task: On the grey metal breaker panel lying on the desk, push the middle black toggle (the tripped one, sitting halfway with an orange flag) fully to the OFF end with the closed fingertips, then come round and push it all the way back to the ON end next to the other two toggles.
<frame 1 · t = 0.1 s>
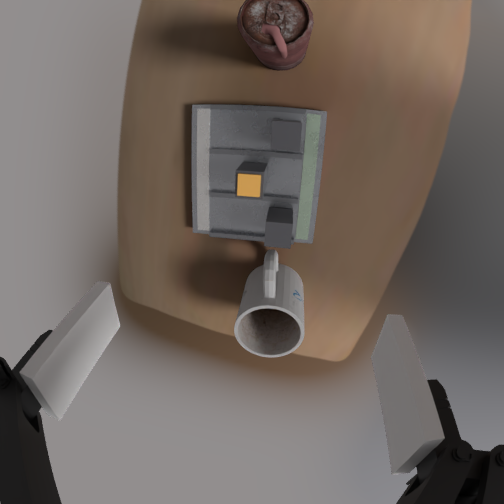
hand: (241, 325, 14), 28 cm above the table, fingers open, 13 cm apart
breaker tripped: (251, 179, 34), point 4 cm above the table, slide at 3.5 cm
mug: (276, 277, 45), on the table
panel: (256, 171, 38), on the table
can: (281, 49, 31), on the table
breaker 1: (286, 134, 32), point 4 cm above the table, slide at 7.0 cm
breaker 2: (279, 226, 37), point 4 cm above the table, slide at 7.0 cm
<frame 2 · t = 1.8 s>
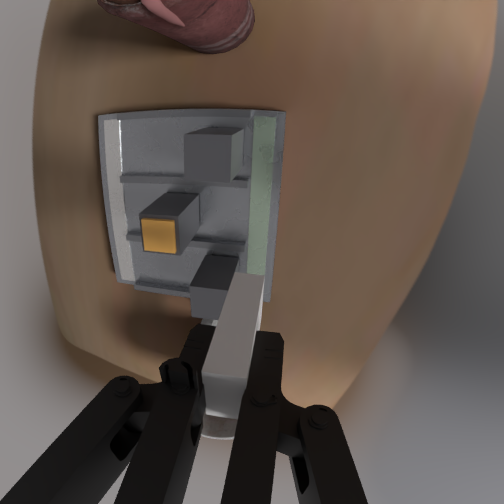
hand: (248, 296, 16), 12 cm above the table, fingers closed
breaker tripped: (171, 222, 23), point 4 cm above the table, slide at 3.5 cm
mug: (228, 336, 34), on the table
panel: (188, 204, 27), on the table
can: (218, 23, 19), on the table
breaker 1: (216, 151, 20), point 4 cm above the table, slide at 7.0 cm
breaker 2: (216, 286, 25), point 4 cm above the table, slide at 7.0 cm
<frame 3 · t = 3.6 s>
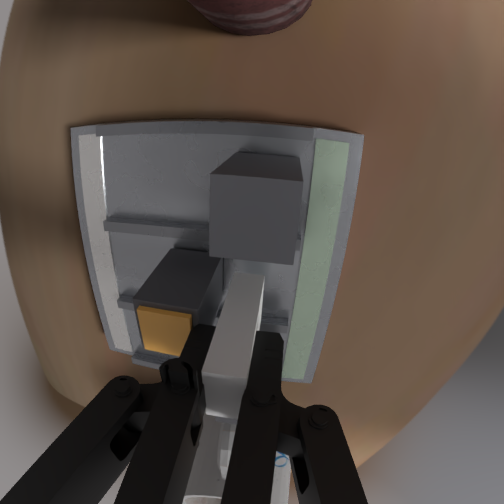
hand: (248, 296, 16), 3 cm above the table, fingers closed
breaker tripped: (182, 301, 15), point 4 cm above the table, slide at 3.5 cm, touching gripper
mug: (251, 408, 26), on the table
panel: (204, 260, 19), on the table
breaker 1: (260, 199, 12), point 4 cm above the table, slide at 7.0 cm
breaker 2: (247, 379, 17), point 4 cm above the table, slide at 7.0 cm
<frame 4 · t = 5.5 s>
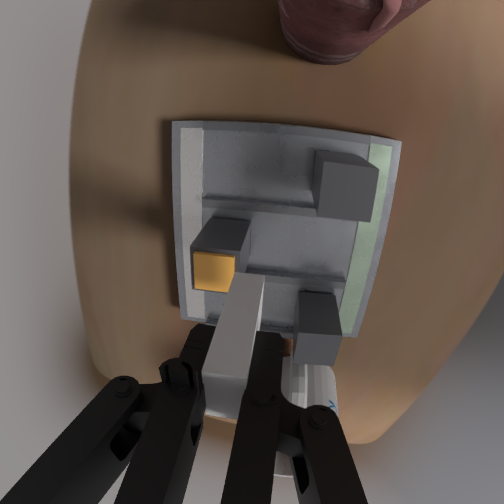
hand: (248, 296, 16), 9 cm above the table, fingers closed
breaker tripped: (222, 254, 20), point 4 cm above the table, slide at 0.0 cm
mug: (299, 370, 31), on the table
panel: (278, 234, 24), on the table
can: (324, 30, 17), on the table
breaker 1: (341, 182, 18), point 4 cm above the table, slide at 7.0 cm
breaker 2: (315, 327, 22), point 4 cm above the table, slide at 7.0 cm
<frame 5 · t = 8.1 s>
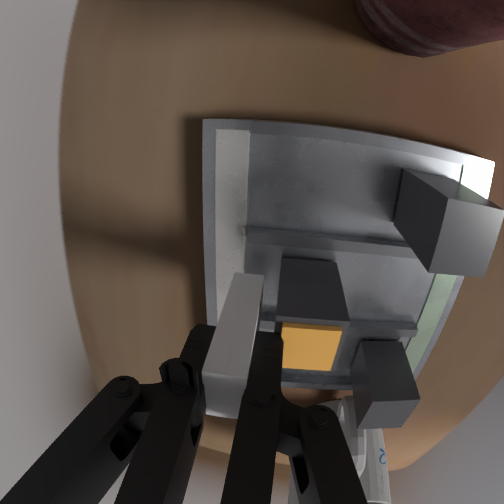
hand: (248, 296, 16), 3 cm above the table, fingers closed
breaker tripped: (307, 312, 15), point 4 cm above the table, slide at 1.3 cm, touching gripper
mug: (343, 412, 25), on the table
panel: (340, 271, 18), on the table
can: (404, 12, 11), on the table
breaker 1: (443, 218, 12), point 4 cm above the table, slide at 7.0 cm
breaker 2: (381, 384, 17), point 4 cm above the table, slide at 7.0 cm
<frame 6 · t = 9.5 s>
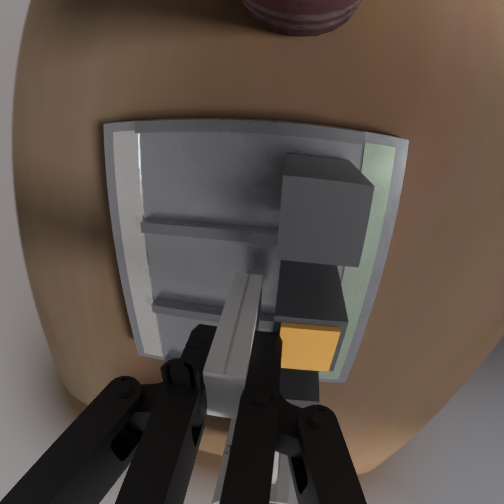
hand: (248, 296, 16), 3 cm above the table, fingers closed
breaker tripped: (306, 312, 15), point 4 cm above the table, slide at 7.2 cm, touching gripper
mug: (280, 409, 26), on the table
panel: (244, 262, 19), on the table
breaker 1: (318, 201, 12), point 4 cm above the table, slide at 7.0 cm
breaker 2: (289, 381, 17), point 4 cm above the table, slide at 7.0 cm
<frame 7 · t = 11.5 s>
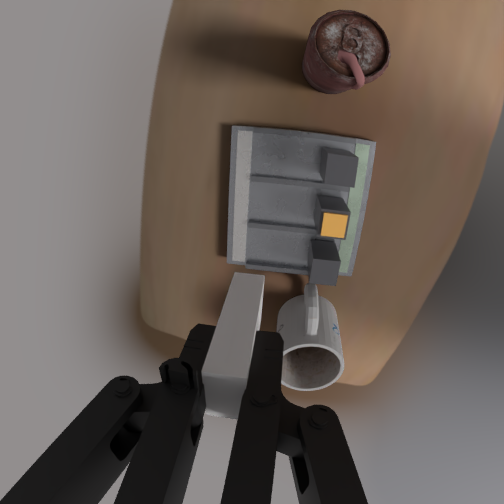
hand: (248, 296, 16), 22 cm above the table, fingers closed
breaker tripped: (331, 216, 32), point 4 cm above the table, slide at 7.0 cm
mug: (310, 308, 43), on the table
panel: (297, 201, 36), on the table
can: (329, 70, 29), on the table
breaker 1: (337, 166, 30), point 4 cm above the table, slide at 7.0 cm
breaker 2: (322, 261, 35), point 4 cm above the table, slide at 7.0 cm
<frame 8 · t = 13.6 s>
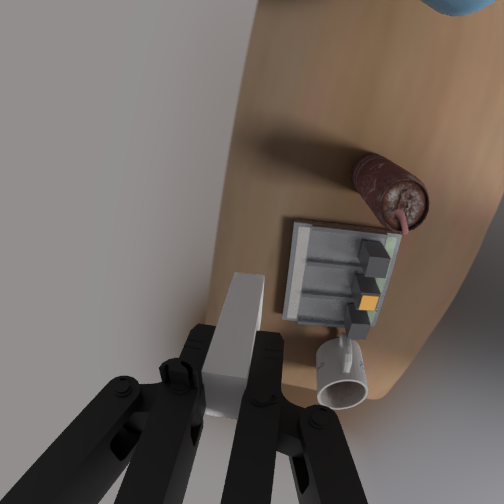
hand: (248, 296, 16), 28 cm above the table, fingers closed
breaker tripped: (365, 292, 42), point 4 cm above the table, slide at 7.0 cm
mug: (341, 346, 53), on the table
panel: (338, 275, 47), on the table
can: (371, 175, 39), on the table
breaker 1: (373, 258, 40), point 4 cm above the table, slide at 7.0 cm
breaker 2: (356, 321, 45), point 4 cm above the table, slide at 7.0 cm
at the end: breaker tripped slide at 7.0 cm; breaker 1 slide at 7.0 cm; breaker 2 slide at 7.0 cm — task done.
